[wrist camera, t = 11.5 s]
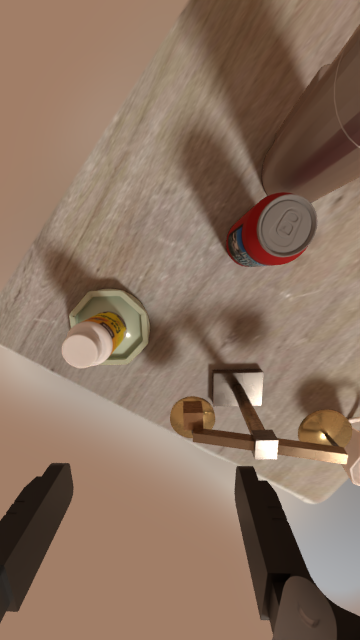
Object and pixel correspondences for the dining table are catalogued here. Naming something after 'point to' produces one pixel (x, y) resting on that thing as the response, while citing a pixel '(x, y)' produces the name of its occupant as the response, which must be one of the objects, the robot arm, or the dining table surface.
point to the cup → (353, 455)
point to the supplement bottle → (94, 339)
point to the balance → (259, 422)
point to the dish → (127, 310)
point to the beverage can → (273, 231)
